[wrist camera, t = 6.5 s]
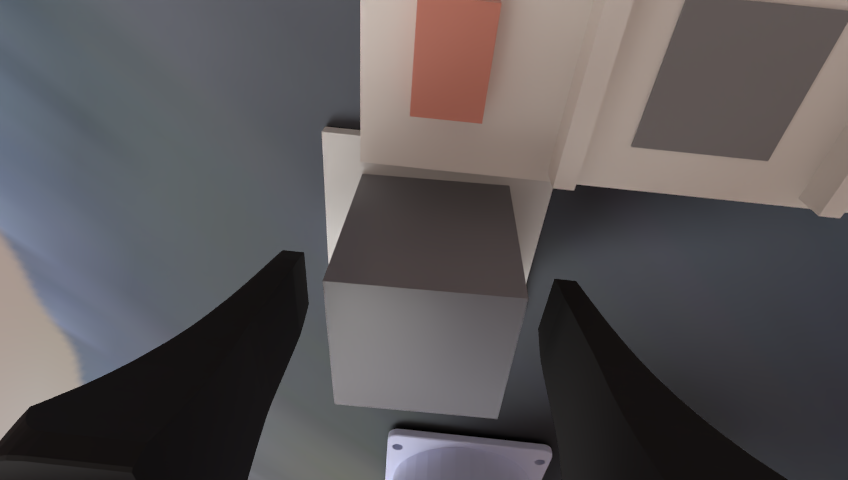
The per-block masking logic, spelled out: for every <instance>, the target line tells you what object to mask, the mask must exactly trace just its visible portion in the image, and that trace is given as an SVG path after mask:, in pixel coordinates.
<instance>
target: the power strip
mask: <svg viewBox="0 0 848 480" xmlns="http://www.w3.org/2000/svg"><path fill="white" fill-rule="evenodd" d="M360 162H366V163H375V164H385V165H394V166H404V167H414V168H423V169H433V170H442V171H452V172H462V173H471V174H481V175H490V176H500V177H510V178H519V179H529V180H538V181H548V182H551V185H552V188H554V189H563V190H573V191H574V189H575V186H576V184H577V185H586V186H596V187H605V188H615V189H625V190H634V191H644V192H653V193H663V194H673V195H682V196H692V197H701V198H711V199H721V200H730V201H740V202H749V203H759V204H769V205H778V206H788V207H797V208H807V209H811V210H812V211H813V212H815V213H816V214H817V215H818V216H822V217H832V218H841V217H842V215H843V214H844V213H848V0H360Z"/></svg>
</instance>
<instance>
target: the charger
mask: <svg viewBox="0 0 848 480" xmlns="http://www.w3.org/2000/svg"><path fill="white" fill-rule="evenodd" d="M323 290H324V300H325V310H326V321H327V331H328V341H329V352H330V362H331V372H332V383H333V393H334V403H335V404H340V405H351V406H362V407H373V408H384V409H395V410H405V411H416V412H427V413H438V414H449V415H460V416H471V417H482V418H493V419H498V415H499V411H500V408H501V404H502V400H503V396H504V392H505V388H506V384H507V380H508V377H509V373H510V369H511V365H512V361H513V357H514V353H515V349H516V346H517V342H518V338H519V334H520V330H521V326H522V322H523V318H524V314H525V311H526V307H527V303H528V293H527V287H526V281H525V275H524V269H523V263H522V257H521V251H520V245H519V240H518V234H517V228H516V222H515V216H514V210H513V204H512V198H511V192H510V186H508V185H496V184H484V183H471V182H459V181H447V180H434V179H422V178H410V177H397V176H385V175H373V174H362V176H361V178H360V181H359V184H358V187H357V189H356V192H355V195H354V197H353V200H352V203H351V206H350V208H349V211H348V214H347V216H346V219H345V222H344V225H343V227H342V230H341V233H340V235H339V238H338V241H337V244H336V246H335V249H334V252H333V254H332V257H331V260H330V263H329V265H328V268H327V271H326V273H325V276H324V279H323Z"/></svg>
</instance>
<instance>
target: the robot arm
mask: <svg viewBox="0 0 848 480" xmlns="http://www.w3.org/2000/svg"><path fill="white" fill-rule="evenodd" d="M308 305H309V302H308V291H307V280H306V269H305V258H304V252H294V251H285V250H283V251H281V252H280V253H279V254H278V255H277V256H276V257H275V258H273V259H272V260H271V261H270V262H269V263H268V264H267V265H266V266H265V267H264V268H263V269H261V270H260V271H259V272H258V273H257V274H256V275H255V276H254V277H253V278H251V279H250V280H249V281H248V282H247V283H246V284H245V285H243V286H242V287H241V288H240V289H239V290H238V291H236V292H235V293H234V294H233V295H232V296H230V297H229V298H228V299H227V300H226V301H224V302H223V303H222V304H220V305H219V306H218V307H217V308H215V309H214V310H213V311H211V312H210V313H209V314H207V315H206V316H205V317H203V318H202V319H201V320H199V321H198V322H197V323H195V324H194V325H192V326H191V327H189V328H188V329H186V330H185V331H183V332H182V333H180V334H179V335H177V336H176V337H174V338H172V339H171V340H169V341H168V342H166V343H164V344H162V345H161V346H159V347H157V348H155V349H154V350H152V351H150V352H148V353H146V354H145V355H143V356H141V357H139V358H138V359H136V360H134V361H132V362H130V363H128V364H126V365H124V366H122V367H120V368H118V369H116V370H114V371H112V372H110V373H108V374H106V375H104V376H102V377H100V378H98V379H95V380H93V381H91V382H89V383H87V384H84V385H82V386H80V387H78V388H75V389H73V390H70V391H68V392H65V393H63V394H61V395H58V396H56V397H53V398H51V399H49V400H46V401H44V402H41V403H39V404H36V405H33V406H31V407H29V409H28V410H27V411H26V412H25V413H24V414H23V415H22V416H21V417H20V418H19V419H18V420H17V422H16V423H15V424H14V425H13V426H12V428H11V429H10V430H9V431H8V432H7V433H6V434H5V436H4V437H3V438H2V439H1V440H0V480H247V479H248V476H249V472H250V469H251V465H252V462H253V459H254V455H255V452H256V448H257V445H258V442H259V439H260V435H261V432H262V429H263V426H264V423H265V419H266V416H267V414H268V411H269V408H270V406H271V403H272V401H273V398H274V396H275V394H276V391H277V389H278V387H279V384H280V382H281V379H282V377H283V375H284V372H285V370H286V368H287V365H288V363H289V361H290V358H291V356H292V354H293V351H294V349H295V346H296V344H297V342H298V339H299V337H300V334H301V330H302V327H303V324H304V320H305V316H306V313H307V309H308ZM538 332H539V347H540V358H541V365H542V370H543V375H544V379H545V384H546V389H547V394H548V398H549V403H550V407H551V412H552V417H553V421H554V426H555V431H556V436H557V442H558V448H559V457H560V466H561V475H562V480H787V479H786V478H784V477H783V476H781V475H780V474H778V473H777V472H775V471H774V470H772V469H771V468H769V467H768V466H766V465H764V464H763V463H761V462H760V461H758V460H757V459H755V458H754V457H753V456H751V455H750V454H748V453H747V452H746V451H744V450H743V449H741V448H740V447H739V446H737V445H736V444H735V443H733V442H732V441H730V440H729V439H728V438H726V437H725V436H724V435H722V434H721V433H720V432H719V431H717V430H716V429H715V428H713V427H712V426H711V425H710V424H708V423H707V422H706V421H705V420H703V419H702V418H701V417H700V416H699V415H697V414H696V413H695V412H694V411H693V410H691V409H690V408H689V407H688V406H687V405H686V404H684V403H683V402H682V401H681V400H680V399H679V398H678V397H677V396H675V395H674V394H673V393H672V392H671V391H670V390H669V389H668V388H667V387H666V386H665V385H664V384H663V383H662V382H661V381H660V380H659V379H658V378H656V377H655V376H654V375H653V374H652V373H651V372H650V371H649V370H648V368H647V367H646V366H645V365H644V364H643V363H642V362H641V361H640V360H639V359H638V358H637V357H636V356H635V354H634V353H633V352H632V351H631V350H630V349H629V348H628V347H627V345H626V344H625V343H624V342H623V341H622V340H621V338H620V337H619V336H618V335H617V334H616V332H615V331H614V330H613V329H612V328H611V326H610V325H609V324H608V323H607V321H606V320H605V319H604V317H603V316H602V315H601V314H600V312H599V311H598V310H597V308H596V307H595V306H594V304H593V303H592V302H591V300H590V299H589V298H588V296H587V295H586V294H585V292H584V291H583V290H582V288H581V287H580V286H579V284H578V283H577V282H576V281H570V280H560V279H554V282H553V285H552V288H551V291H550V294H549V298H548V301H547V304H546V307H545V310H544V313H543V316H542V319H541V322H540V325H539V328H538ZM551 459H552V450H551V448H550V447H549V446H548V445H545V444H538V443H528V442H519V441H510V440H500V439H491V438H482V437H472V436H463V435H454V434H444V433H435V432H426V431H416V430H407V429H393V430H391V431H390V432H389V435H388V444H387V460H386V476H385V480H542V478H543V476H544V474H545V472H546V469H547V467H548V465H549V463H550V461H551Z"/></svg>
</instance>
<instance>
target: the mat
mask: <svg viewBox="0 0 848 480" xmlns="http://www.w3.org/2000/svg"><path fill="white" fill-rule="evenodd" d="M322 146H323V165H324V184H325V204H326V223H327V242H328V262H329V263H330V260H331V257H332V254H333V252H334V249H335V246H336V244H337V241H338V238H339V235H340V233H341V230H342V227H343V225H344V222H345V219H346V216H347V214H348V211H349V208H350V206H351V203H352V200H353V197H354V195H355V192H356V189H357V187H358V184H359V181H360V178H361V176H362V174H373V175H385V176H397V177H410V178H422V179H434V180H447V181H459V182H471V183H484V184H496V185H508V186H510V192H511V198H512V204H513V210H514V216H515V222H516V228H517V234H518V240H519V245H520V251H521V257H522V263H523V269H524V275H525V281H526V282H527V278H528V275H529V271H530V268H531V264H532V261H533V257H534V254H535V250H536V247H537V243H538V240H539V236H540V232H541V229H542V225H543V222H544V218H545V215H546V211H547V208H548V204H549V201H550V197H551V193H552V190H553V188H552V185H551V182H548V181H538V180H529V179H519V178H510V177H500V176H490V175H481V174H471V173H462V172H452V171H442V170H433V169H423V168H414V167H404V166H394V165H385V164H375V163H366V162H360V130H354V129H344V128H335V127H324V129H323V131H322Z"/></svg>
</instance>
